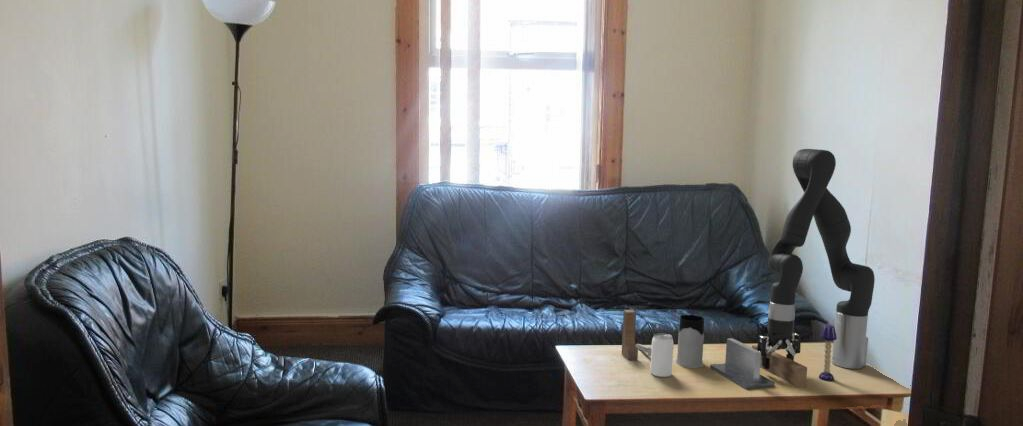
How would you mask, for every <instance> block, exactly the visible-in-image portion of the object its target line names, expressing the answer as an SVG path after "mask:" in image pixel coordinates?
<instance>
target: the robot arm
mask: <svg viewBox="0 0 1023 426" xmlns="http://www.w3.org/2000/svg"><path fill="white" fill-rule="evenodd" d="M836 163H837V160H836V157H835V154H833V152H831V151H830V150H826V149H815V148H802V149H799V150H797V151H796V152H795V153H794V155H793V158H792V169H793V173H794V176H795V177H796V179H797V180H798V183H799V185H800V187H801V189H802V191H803V194H802V195H801V197H800V199H798V200H797V202H796V203H795V204H794V205H793V206H792V208H791V209H790V211H789V212H788V213H787V215H786V218H785V221H784V224H783V228H782V229H781V230H782V231H781V235H780V237H779V238H778V240H777V242H776V243H775V245H774V247H773V248H772V250H771V251H770V254H769V256H768V260H767V261H768V262H767V263H768V267H769V270H770V271H771V272H773V273H774V274H778V275H780V279H779V281H777V282H774V283H772V284H771V288H770V300H769V306H768V314H767V336H765V335H764V336H763V335H760V334H759V335H758V338H757V344H756V345H757V350H758V351H760V352H761V356H762V366H763V368H764V369H766V370H768V369H769V365H770V358H769V357H770V356H771V354H772V353H774V352H776V351H779V350H785V352H786V355H785V357H787V358H789V359H791V360H793V361H795V356H796V354H800V353H801V345H802V344H801V343H802V342H801V339H802V336H801V334H799V333H796V332H794V331H795V314H796V307H795V306H796V304H795V303H796V291H797V289H798V287H799V286H798V285H799V283H800V280H801V277H802V275H803V271H804V264H803V260H802V259H801V257H799V256H798V255H796V254H793V252H794V250H795V249H796V248H801V247H803V246H804V245H805V243H806V239H807V237H808V232H809V230H810V226H811V224H812V220H813V219H814V222H815V225H816V227H817V230H818V233H819V235H820V238H821V240H822V243H823V246H824V250H825V252H826V256H827V259H828V264H829V268H830V269H829V270H830V272H831V276H832V280H833V282H834V284H835V286H836V287H837V288H838V289H840V290H842V291H846V292H850V296H849V299H848V300H841V301H838V302H837V304H836V311H835V320H834V321H835V322H834V327H835V332H836V336H837V339H836V340H833V345H832V346H833V347H832V354H831V357H832V358H831V363H832V364H833V365H835V366H837V367H841V368H845V369H850V370H852V369H853V370H856V369H857V370H859V369H863V368H864V367H866V365H867V357H868V354H867V353H868V346H869V345H868V344H869V337H867V329H868V318H869V310H870V308H871V305H872V302H873V301H872V300H873V296H874V289H875V277H876V276H875V273H874V270H873V268H871V267H870V266H867V265H863V264H858V263H855V262H852V261H851V259H850V258H849V255H848V251H847V245H848V241H849V240H850V236H851V233H852V232H851V231H852V226H851V222H850V220H849V217H848V214H847V212H846V209H845V207H844V206H843V205H842V204H841V202H840V201H839V200H838V199H837V197H836V196H834V194H833V193H831V192H830V190H829V189H828V188H827V187H828V186H829V183H830V181H831V179H832V177H833V176H834V172H835V169H836ZM764 369H763V370H764ZM766 370H765V371H766Z"/></svg>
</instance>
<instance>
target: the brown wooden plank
mask: <svg viewBox="0 0 1023 426" xmlns="http://www.w3.org/2000/svg"><path fill="white" fill-rule="evenodd" d="M757 345H758V344H754V345H751V348H753V349H755V350H757ZM769 358H770V365H769V369H768V370H766V369H764V368H763V366H762V356H761V362H760V369H762V370H764V371H766V372H768V373H770V374H772V375H774V376H775V377H778V378H779V379H781V380H783V381H786V382H787V383H789V384H791V385H792V386H795V387H796V388H802V387H803V388H804V387H806V386H807V375H808V366H805V365H803V364H802V363H799V362H797V361H795V360H794V361H793V360H791V359H789V358H787V357H786V356H784V355H782V354H780V353H778V352H776V351H775V352H774V353H772V354H771V356H770V357H769Z"/></svg>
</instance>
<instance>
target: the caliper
mask: <svg viewBox="0 0 1023 426" xmlns="http://www.w3.org/2000/svg"><path fill="white" fill-rule="evenodd" d="M635 345H636V347H637V348H638V350H640V351H642V352H645V353H647V356H649V357H651V349H652V346H651V347H650V346H648V347H647V346H645V345H643V344H641V343H635Z"/></svg>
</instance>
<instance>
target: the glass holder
mask: <svg viewBox="0 0 1023 426" xmlns="http://www.w3.org/2000/svg"><path fill="white" fill-rule="evenodd" d="M704 328H705V318H704V317H703V316H700V315H696V314H695V315H694V314H682V315H680V316H679V329H678V337H677V339H678V340H677V355H676V359H675V364H676V365H678V366H681V367H684V368H689V369H690V368H691V369H693V368H694V369H699V368H702V367H704V363H703V358H704V357H703V355H704V354H703V353H704V340H705V339H704V337H705V332H704V330H705V329H704Z"/></svg>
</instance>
